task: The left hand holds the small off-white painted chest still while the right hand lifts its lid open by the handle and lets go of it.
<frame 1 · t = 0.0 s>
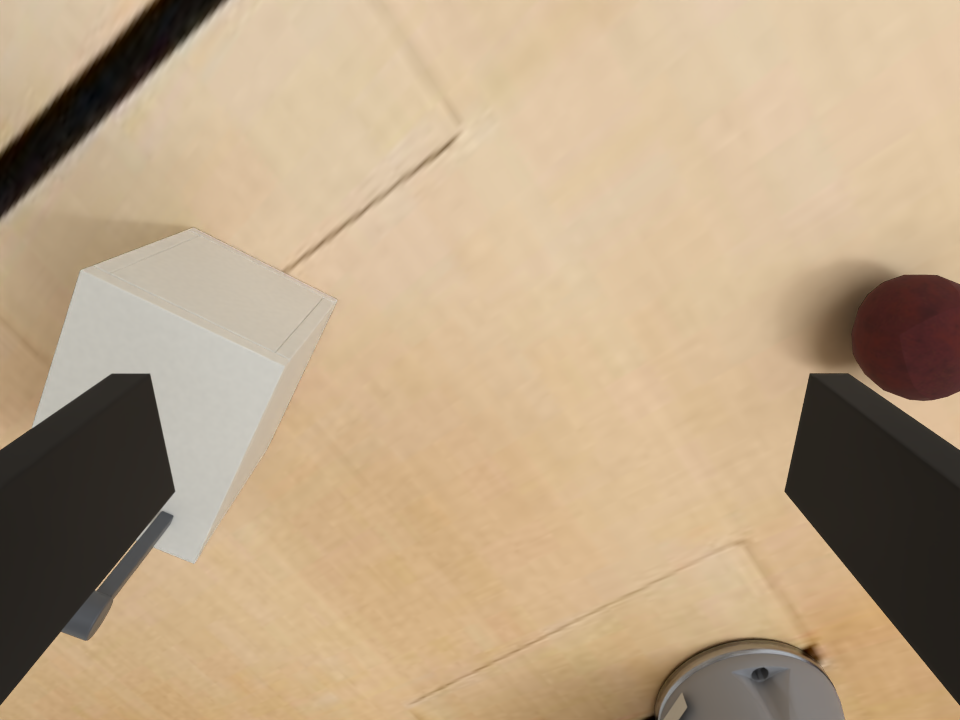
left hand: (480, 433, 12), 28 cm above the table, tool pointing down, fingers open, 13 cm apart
chest: (232, 346, 42), on the table
lid: (103, 468, 27), point 15 cm above the table, hinge at 0.0°
dark red-brown ball: (882, 317, 41), on the table
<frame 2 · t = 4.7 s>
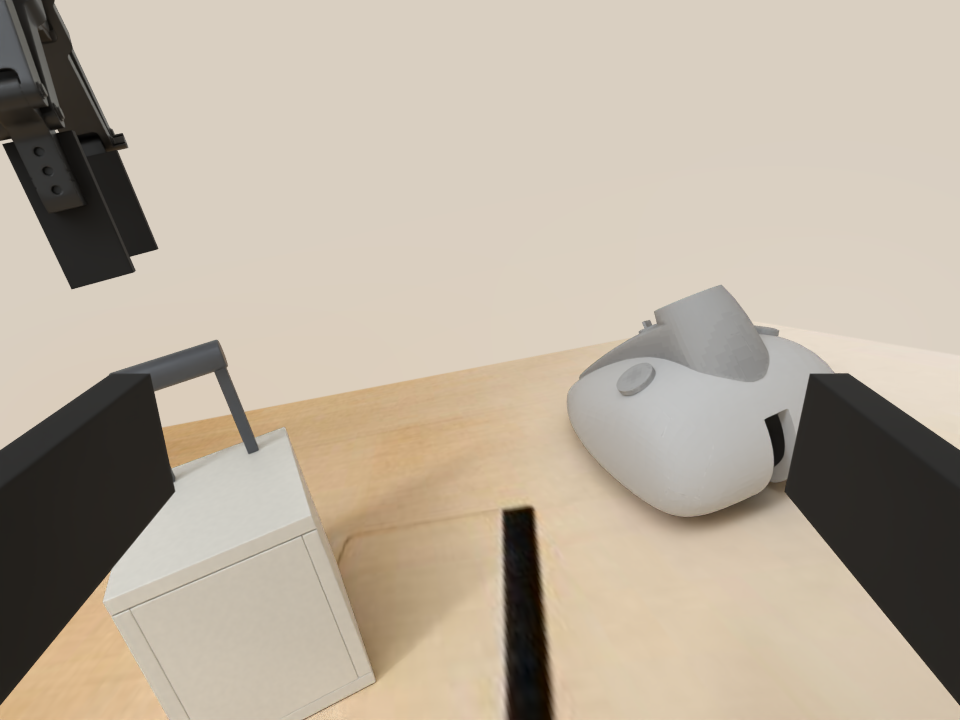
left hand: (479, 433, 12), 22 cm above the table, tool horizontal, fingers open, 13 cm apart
chest: (280, 648, 40), on the table
lid: (189, 444, 35), point 15 cm above the table, hinge at 0.0°
projector: (673, 450, 51), on the table
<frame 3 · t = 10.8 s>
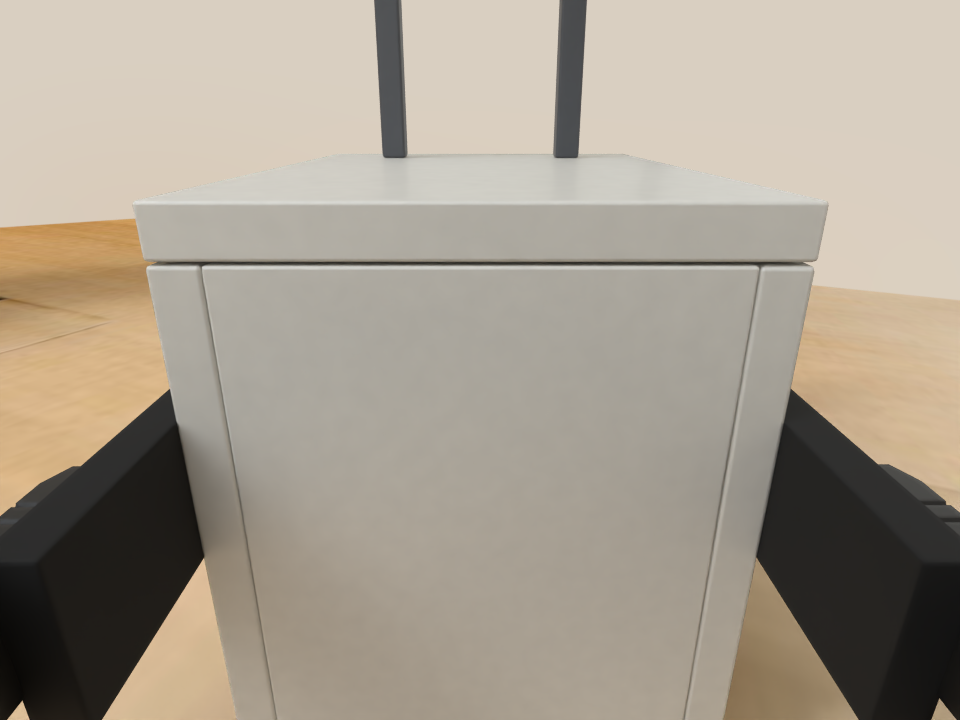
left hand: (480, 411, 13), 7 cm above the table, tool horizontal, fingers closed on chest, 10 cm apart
chest: (480, 564, 19), on the table, touching left hand
lid: (480, 5, 14), point 15 cm above the table, hinge at 0.0°
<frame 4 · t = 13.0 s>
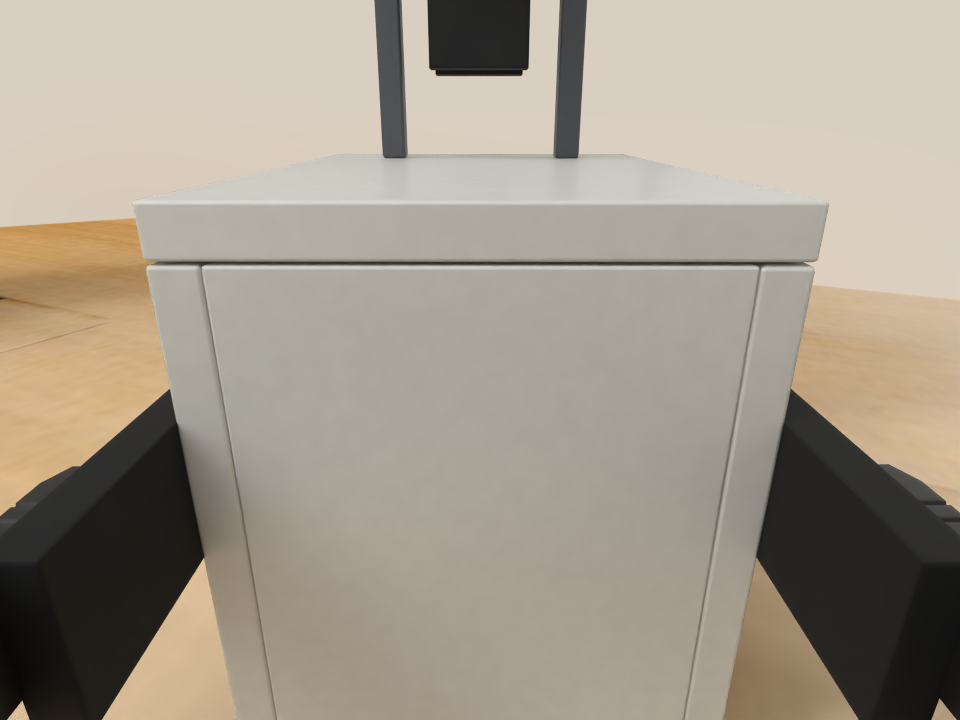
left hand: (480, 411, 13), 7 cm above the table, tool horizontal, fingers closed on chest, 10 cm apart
chest: (480, 563, 19), on the table, touching left hand
lid: (480, 5, 14), point 15 cm above the table, hinge at -0.1°, touching right hand
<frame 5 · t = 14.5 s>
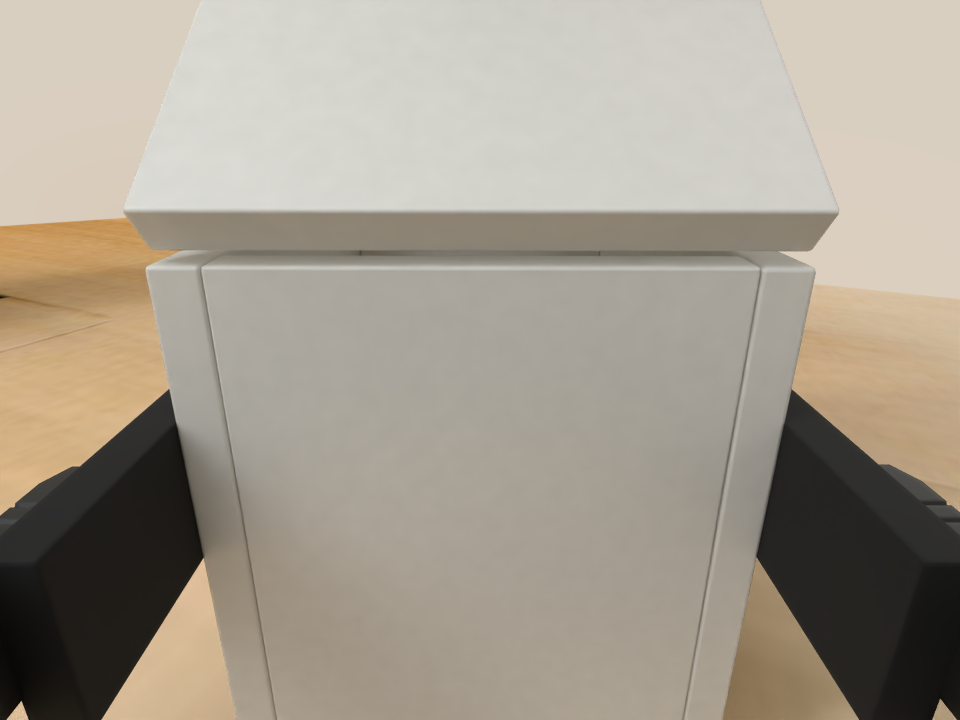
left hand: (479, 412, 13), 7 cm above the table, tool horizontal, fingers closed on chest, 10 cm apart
chest: (479, 563, 19), on the table, touching left hand
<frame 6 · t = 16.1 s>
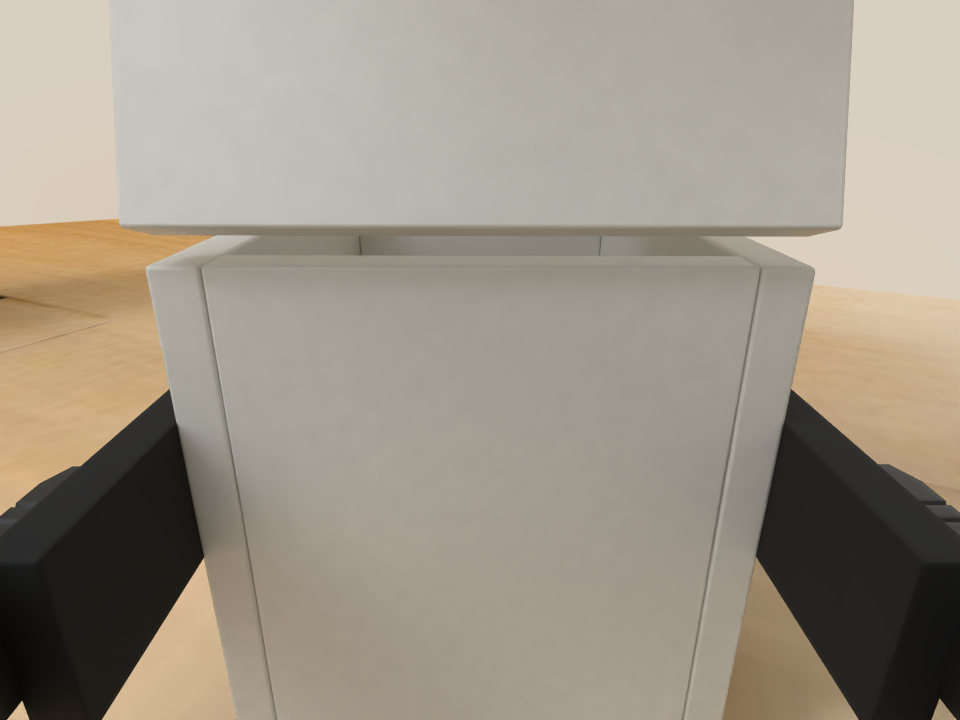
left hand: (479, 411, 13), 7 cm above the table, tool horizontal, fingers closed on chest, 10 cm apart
chest: (479, 562, 19), on the table, touching left hand
when the left hand's fingers open (7 cm above the table, at t = 20.0 s): chest stays where it is, on the table.
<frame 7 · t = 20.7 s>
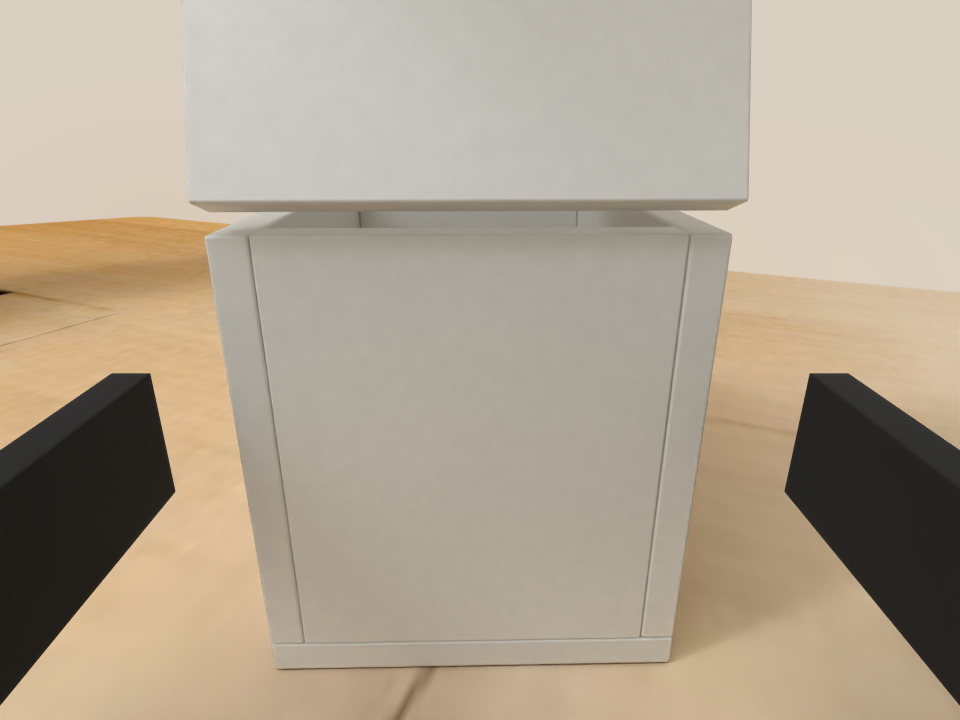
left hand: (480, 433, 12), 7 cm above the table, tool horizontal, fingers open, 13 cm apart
chest: (471, 512, 21), on the table
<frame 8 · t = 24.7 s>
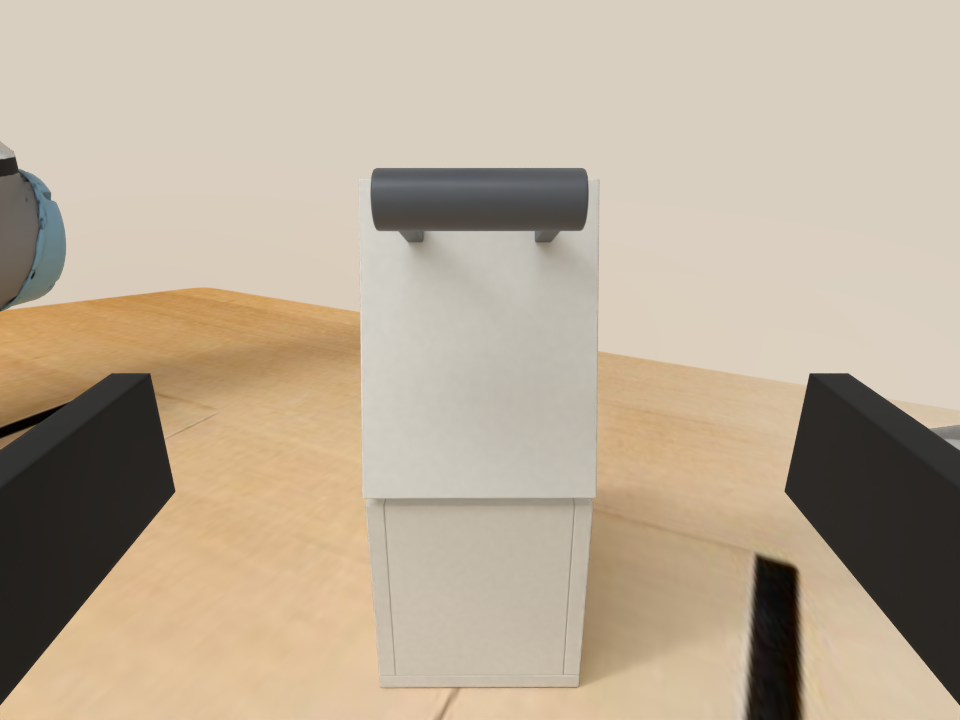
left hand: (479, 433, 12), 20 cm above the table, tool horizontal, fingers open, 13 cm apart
chest: (479, 594, 37), on the table
lid: (479, 343, 22), point 19 cm above the table, hinge at 71.7°
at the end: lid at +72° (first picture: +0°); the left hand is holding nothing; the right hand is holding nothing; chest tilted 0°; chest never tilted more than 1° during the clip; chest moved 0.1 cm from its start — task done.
